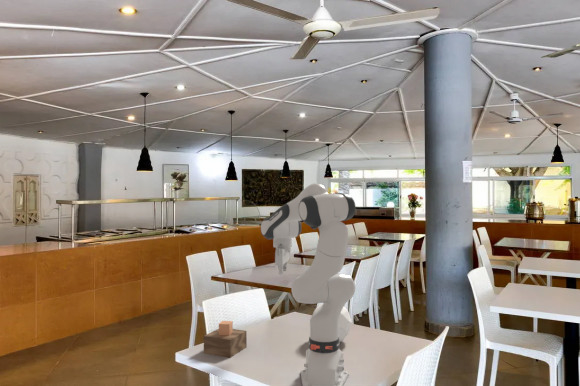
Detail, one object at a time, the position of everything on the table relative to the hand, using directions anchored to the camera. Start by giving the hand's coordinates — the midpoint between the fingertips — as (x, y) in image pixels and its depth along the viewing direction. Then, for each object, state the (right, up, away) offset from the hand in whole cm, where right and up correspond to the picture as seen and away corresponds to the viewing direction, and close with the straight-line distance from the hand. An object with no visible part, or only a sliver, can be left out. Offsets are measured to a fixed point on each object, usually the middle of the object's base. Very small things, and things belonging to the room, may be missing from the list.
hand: (282, 272), depth 204 cm
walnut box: (-26, -34, -8) cm, 44 cm away
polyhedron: (+23, -34, +3) cm, 41 cm away
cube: (-26, -26, -8) cm, 38 cm away
